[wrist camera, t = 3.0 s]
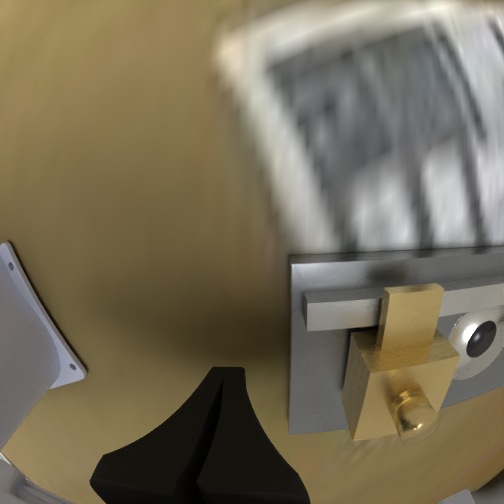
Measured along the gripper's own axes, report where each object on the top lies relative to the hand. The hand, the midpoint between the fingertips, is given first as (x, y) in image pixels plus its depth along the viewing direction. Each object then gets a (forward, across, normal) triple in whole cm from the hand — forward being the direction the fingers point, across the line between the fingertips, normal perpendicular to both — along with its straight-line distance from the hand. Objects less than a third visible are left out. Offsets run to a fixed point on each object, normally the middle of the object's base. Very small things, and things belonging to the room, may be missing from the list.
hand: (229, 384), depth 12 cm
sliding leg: (+1, -7, -1) cm, 7 cm away
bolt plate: (+2, -14, 0) cm, 14 cm away
